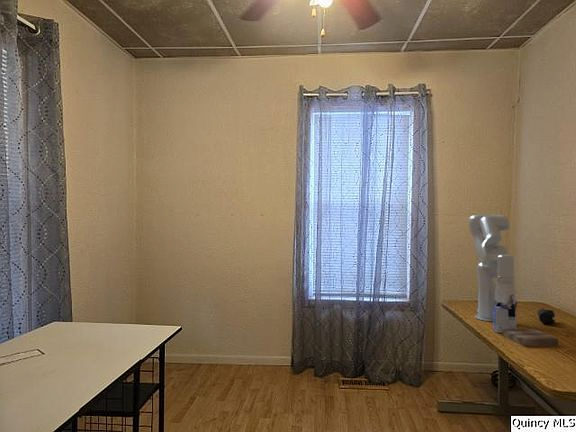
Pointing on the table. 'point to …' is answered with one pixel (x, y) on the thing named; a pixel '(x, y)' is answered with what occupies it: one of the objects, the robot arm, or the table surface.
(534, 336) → the walnut base
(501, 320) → the ink cartridge box
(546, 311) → the end cap
